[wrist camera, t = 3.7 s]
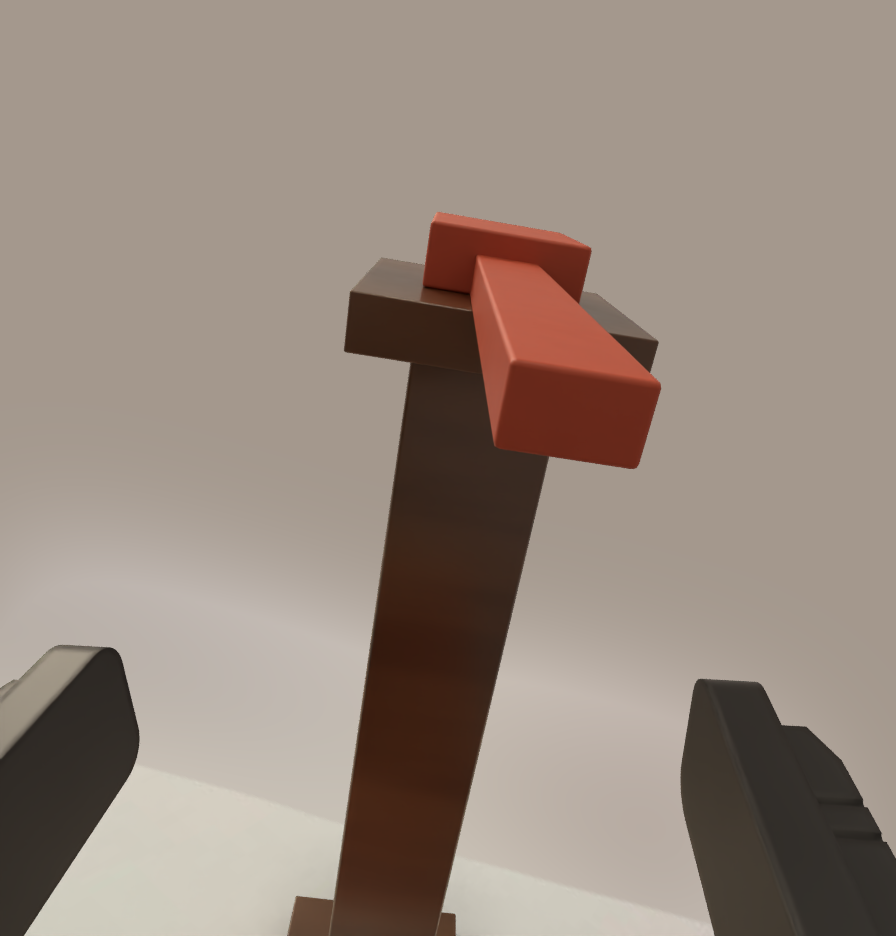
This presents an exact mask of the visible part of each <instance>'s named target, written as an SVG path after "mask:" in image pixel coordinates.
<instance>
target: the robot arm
mask: <svg viewBox="0 0 896 936" xmlns="http://www.w3.org/2000/svg"><path fill="white" fill-rule="evenodd" d="M138 748H139V729H138V724H137V720H136V716H135V712H134V708H133V704H132V699H131V696H130V691H129V687H128V683H127V679H126V675H125V671H124V667H123V663H122V659H121V657H120V655H119V653H118V652H117V651H116V650H115V649H113V648H110V647H92V646H73V645H58V646H55V647H53V648H52V649H50V650H49V651H48V652H46V654H44V655H43V656H42V657H41V658H40V659H39V660H38V661H37V662H36V663H35V664H34V665H33V666H32V667H31V668H30V669H29V670H28V671H27V672H26V673H25V674H24V675H23V676H22V677H21V678H20V679H19V680H12V681H11V682H9V683H8V684H6V685H4V686H3V687H1V688H0V936H24V935H25V933H26V932H27V930H28V929H29V927H30V925H31V924H32V922H33V921H34V919H35V918H36V916H37V915H38V913H39V912H40V910H41V909H42V907H43V906H44V904H45V903H46V901H47V900H48V898H49V897H50V895H51V894H52V892H53V891H54V889H55V888H56V886H57V885H58V883H59V882H60V880H61V879H62V877H63V876H64V874H65V873H66V871H67V870H68V868H69V867H70V865H71V863H72V862H73V860H74V859H75V857H76V856H77V854H78V853H79V851H80V850H81V848H82V847H83V845H84V844H85V842H86V841H87V839H88V838H89V836H90V835H91V833H92V832H93V830H94V829H95V827H96V826H97V824H98V823H99V821H100V820H101V818H102V817H103V815H104V814H105V812H106V811H107V809H108V808H109V806H110V804H111V803H112V801H113V800H114V798H115V797H116V795H117V794H118V792H119V791H120V789H121V788H122V786H123V785H124V783H125V782H126V780H127V779H128V777H129V775H130V773H131V771H132V769H133V767H134V764H135V761H136V758H137V754H138ZM681 797H682V804H683V811H684V816H685V821H686V824H687V828H688V832H689V836H690V840H691V844H692V848H693V852H694V856H695V860H696V864H697V868H698V872H699V876H700V880H701V883H702V887H703V891H704V895H705V899H706V903H707V907H708V911H709V915H710V919H711V923H712V927H713V931H714V935H715V936H896V858H895V857H894V855H893V853H892V851H891V849H890V847H889V846H888V844H887V842H883V840H882V837H881V831H880V830H879V827H878V826H877V824H876V822H875V820H874V818H873V817H872V815H871V813H870V811H869V809H868V808H867V807H864V805H863V798H862V797H861V795H860V793H859V791H858V789H857V788H856V786H855V784H854V782H853V780H852V778H851V777H850V775H849V773H848V771H847V770H846V768H845V766H844V764H843V762H842V760H841V759H839V757H837V756H836V755H835V754H834V753H833V752H832V751H831V750H830V749H829V748H828V747H827V746H826V745H825V744H824V743H823V742H822V741H821V740H820V739H818V738H817V737H816V736H815V735H814V734H813V733H812V732H811V731H810V730H809V729H808V728H807V727H800V726H785V725H781V723H780V721H779V719H778V717H777V714H776V712H775V710H774V708H773V706H772V704H771V702H770V700H769V698H768V696H767V694H766V691H765V690H764V688H763V687H762V685H761V684H759V683H758V682H747V681H729V680H711V679H698V680H697V681H696V683H695V686H694V690H693V696H692V702H691V708H690V714H689V720H688V727H687V733H686V739H685V746H684V752H683V758H682V765H681Z"/></svg>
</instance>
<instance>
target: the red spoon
mask: <svg viewBox="0 0 896 936" xmlns="http://www.w3.org/2000/svg"><path fill="white" fill-rule="evenodd" d="M590 256H591V248H590V247H588V246H586V245H584V244H582V243H580V242H577V241H576V240H574V239H571V238H569V237H567V236H565V235H563V234H561V233H557V232H552V231H546V230H540V229H533V228H528V227H523V226H517V225H511V224H505V223H499V222H493V221H488V220H482V219H476V218H470V217H465V216H459V215H453V214H447V213H441V212H437V213H436V215H435V217H434V219H433V221H432V223H431V227H430V234H429V241H428V248H427V255H426V262H425V269H424V276H423V286H425V287H428V288H434V289H440V290H446V291H452V292H458V293H464V294H470V298H471V304H472V310H473V316H474V323H475V329H476V335H477V341H478V348H479V354H480V360H481V366H482V373H483V379H484V385H485V391H486V398H487V404H488V410H489V416H490V423H491V429H492V435H493V441H494V446H495V447H497V448H499V449H504V450H511V451H517V452H524V453H530V454H537V455H543V456H550V457H557V458H563V459H570V460H576V461H582V462H589V463H595V464H602V465H609V466H615V467H622V468H628V469H635V468H637V466H638V465H639V462H640V458H641V455H642V452H643V449H644V445H645V442H646V438H647V435H648V431H649V428H650V425H651V421H652V418H653V415H654V411H655V407H656V404H657V401H658V397H659V394H660V390H661V384H660V382H658V380H657V379H655V378H654V377H653V376H652V375H651V374H650V373H649V372H648V371H647V370H646V369H645V368H644V367H643V366H642V365H641V364H640V363H639V362H638V361H637V360H636V359H635V358H634V357H633V356H632V355H631V354H630V353H629V352H628V351H627V350H626V349H625V348H624V347H622V346H621V345H620V344H619V343H618V342H617V341H616V340H615V339H614V338H613V337H612V336H611V335H610V334H609V333H608V332H607V331H606V330H605V329H604V328H603V327H602V326H601V325H600V324H599V323H598V322H597V321H596V320H595V319H594V318H593V317H592V316H590V315H589V314H588V313H587V312H586V311H585V310H584V309H583V308H582V307H581V306H580V305H579V303H580V299H581V294H582V290H583V286H584V281H585V277H586V273H587V268H588V264H589V260H590Z"/></svg>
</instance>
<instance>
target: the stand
mask: <svg viewBox="0 0 896 936" xmlns="http://www.w3.org/2000/svg"><path fill="white" fill-rule="evenodd" d="M424 269H425V265H422V264H417V263H411V262H404V261H398V260H393V259H387V258H381V259H380V260H379V261H378V262H377V263H376V264H375V265H374V266H373V267H372V268H371V269H370V270H369V272H368V273H367V274H366V275H365V276H364V277H363V278H362V279H361V280H360V281H359V282H358V284H357V285H356V286H355V287H354V288H353V289H352V290H351V291H350V297H349V307H348V316H347V326H346V336H345V346H344V351H345V352H347V353H353V354H359V355H366V356H372V357H378V358H385V359H391V360H397V361H404V362H410V370H409V377H408V384H407V391H406V398H405V405H404V412H403V419H402V426H401V433H400V441H399V447H398V454H397V462H396V468H395V475H394V482H393V489H392V496H391V503H390V510H389V517H388V524H387V532H386V538H385V545H384V552H383V559H382V566H381V573H380V580H379V587H378V594H377V601H376V608H375V615H374V622H373V629H372V636H371V643H370V650H369V657H368V664H367V671H366V678H365V685H364V692H363V699H362V706H361V714H360V720H359V728H358V734H357V741H356V748H355V756H354V762H353V769H352V776H351V783H350V790H349V797H348V805H347V811H346V818H345V825H344V832H343V839H342V846H341V853H340V860H339V867H338V874H337V881H336V888H335V895H334V900H327V899H318V898H309V897H300V896H296V898H295V903H294V907H293V912H292V916H291V921H290V926H289V930H288V935H287V936H456V915H455V914H451V913H442V908H443V903H444V899H445V895H446V891H447V887H448V882H449V878H450V874H451V870H452V865H453V861H454V857H455V853H456V848H457V844H458V840H459V836H460V832H461V827H462V823H463V819H464V815H465V810H466V806H467V802H468V798H469V794H470V789H471V785H472V780H473V777H474V772H475V768H476V764H477V760H478V755H479V751H480V747H481V743H482V738H483V734H484V730H485V726H486V722H487V717H488V713H489V708H490V705H491V700H492V696H493V692H494V687H495V684H496V679H497V675H498V671H499V667H500V662H501V658H502V654H503V650H504V646H505V641H506V637H507V633H508V629H509V624H510V620H511V616H512V612H513V608H514V603H515V599H516V594H517V591H518V586H519V582H520V578H521V574H522V569H523V565H524V561H525V556H526V553H527V548H528V544H529V540H530V535H531V531H532V527H533V523H534V519H535V514H536V510H537V506H538V502H539V498H540V493H541V489H542V484H543V481H544V477H545V472H546V468H547V464H548V459H549V456H543V455H537V454H530V453H524V452H517V451H511V450H504V449H499V448H497V447H495V446H494V441H493V435H492V429H491V423H490V416H489V410H488V404H487V398H486V391H485V385H484V379H483V373H482V366H481V360H480V354H479V348H478V341H477V335H476V329H475V323H474V316H473V310H472V304H471V298H470V294H464V293H458V292H452V291H446V290H440V289H434V288H428V287H425V286H423V276H424ZM579 305H580V306H581V307H582V308H583V309H584V310H585V311H586V312H587V313H588V314H589V315H590V316H592V317H593V318H594V319H595V320H596V321H597V322H598V323H599V324H600V325H601V326H602V327H603V328H604V329H605V330H606V331H607V332H608V333H609V334H610V335H611V336H612V337H613V338H614V339H615V340H616V341H617V342H618V343H619V344H620V345H621V346H622V347H624V348H625V349H626V350H627V351H628V352H629V353H630V354H631V355H632V356H633V357H634V358H635V359H636V360H637V361H638V362H639V363H640V364H641V365H642V366H643V367H644V368H645V369H646V370H647V371H648V372H649V373H650V371H651V368H652V364H653V360H654V357H655V354H656V350H657V346H658V341H657V340H656V339H655V338H653V337H652V336H651V335H650V334H648V333H647V332H646V331H644V330H643V329H642V328H640V327H639V326H638V325H637V324H635V323H634V322H633V321H632V320H630V319H629V318H628V317H626V316H625V315H624V314H622V313H621V312H620V311H619V310H617V309H616V308H615V307H613V306H612V305H611V304H609V303H608V302H607V301H606V300H604V299H603V298H602V297H601V296H599V295H598V294H595V293H589V292H583V291H582V294H581V299H580V303H579Z"/></svg>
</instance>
